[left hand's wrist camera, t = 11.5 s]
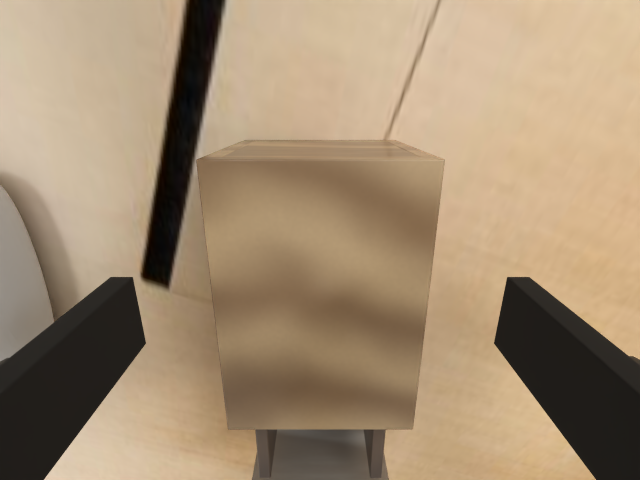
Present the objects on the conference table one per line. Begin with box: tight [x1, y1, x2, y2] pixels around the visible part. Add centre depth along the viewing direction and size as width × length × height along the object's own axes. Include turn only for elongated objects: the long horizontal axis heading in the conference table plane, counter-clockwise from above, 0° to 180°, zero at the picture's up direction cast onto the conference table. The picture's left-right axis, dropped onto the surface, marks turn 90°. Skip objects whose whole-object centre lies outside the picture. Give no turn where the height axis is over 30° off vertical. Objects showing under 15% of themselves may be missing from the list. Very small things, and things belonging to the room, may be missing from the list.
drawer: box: [252, 429, 389, 480], centre depth 28 cm, size 21×10×9 cm, turn 0°
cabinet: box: [196, 140, 445, 429], centre depth 24 cm, size 16×11×11 cm
